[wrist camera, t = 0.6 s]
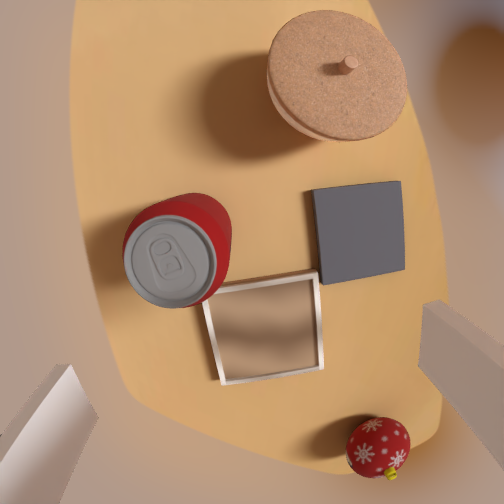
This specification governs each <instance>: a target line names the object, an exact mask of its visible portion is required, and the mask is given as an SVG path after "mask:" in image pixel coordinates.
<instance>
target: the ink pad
mask: <svg viewBox="0 0 504 504" xmlns="http://www.w3.org/2000/svg"><path fill="white" fill-rule="evenodd" d="M311 193H312V202H313V210H314V219H315V228H316V237H317V248H318V258H319V269H320V281H321V283H322V285H328V284H334V283H339V282H345V281H350V280H355V279H360V278H366V277H371V276H376V275H381V274H386V273H391V272H396V271H401V270H405V245H404V219H403V203H402V190H401V181H389V182H378V183H367V184H358V185H348V186H339V187H330V188H322V189H313V190H311Z"/></svg>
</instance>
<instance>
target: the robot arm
mask: <svg viewBox="0 0 504 504" xmlns="http://www.w3.org/2000/svg"><path fill="white" fill-rule="evenodd" d="M418 367H419V368H420V369H421V370H422V371H423V372H424V374H425V375H426V376H427V377H428V378H429V379H430V380H431V382H432V383H433V384H434V385H435V386H436V387H437V389H438V390H439V391H440V392H441V393H442V394H443V396H444V397H445V398H446V399H447V400H448V402H449V403H450V404H451V405H452V406H453V407H454V409H455V410H456V411H457V412H458V414H459V415H460V416H461V417H462V418H463V420H464V421H465V422H466V423H467V424H468V426H469V427H470V428H471V429H472V431H473V432H474V433H475V434H476V436H477V437H478V438H479V439H480V441H481V442H482V443H483V445H484V446H485V447H486V448H487V449H488V451H489V452H490V453H491V455H492V456H493V457H494V458H495V460H496V461H497V462H498V464H499V465H500V466H501V468H502V469H503V470H504V346H503V345H502V344H501V343H500V342H498V341H497V340H495V339H494V338H493V337H491V336H490V335H489V334H487V333H486V332H485V331H483V330H482V329H481V328H479V327H478V326H476V325H475V324H474V323H472V322H471V321H469V320H468V319H467V318H465V317H464V316H462V315H461V314H460V313H458V312H457V311H455V310H454V309H452V308H451V307H449V306H448V305H447V304H445V303H444V302H442V301H441V300H436V301H433V302H430V303H427V304H423V315H422V330H421V342H420V353H419V362H418ZM97 420H98V416H97V414H96V412H95V411H94V409H93V407H92V405H91V403H90V401H89V400H88V398H87V396H86V394H85V392H84V390H83V388H82V386H81V384H80V382H79V380H78V378H77V376H76V374H75V372H74V370H73V368H72V366H71V364H61V365H56V366H55V367H54V368H53V369H52V371H51V372H50V373H49V374H48V375H47V377H46V378H45V379H44V380H43V381H42V383H41V384H40V385H39V386H38V388H37V389H36V390H35V391H34V393H33V394H32V395H31V397H30V398H29V399H28V401H27V402H26V403H25V404H24V406H23V407H22V408H21V410H20V411H19V412H18V413H17V415H16V416H15V417H14V419H13V420H12V421H11V423H10V424H9V425H8V427H7V428H6V430H5V431H4V432H3V433H2V434H1V435H0V504H59V503H60V500H61V498H62V496H63V493H64V491H65V489H66V486H67V484H68V482H69V480H70V477H71V475H72V473H73V471H74V468H75V466H76V464H77V462H78V460H79V457H80V455H81V453H82V451H83V449H84V447H85V444H86V443H87V440H88V438H89V436H90V434H91V432H92V430H93V428H94V426H95V424H96V422H97Z"/></svg>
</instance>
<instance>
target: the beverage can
mask: <svg viewBox="0 0 504 504" xmlns="http://www.w3.org/2000/svg"><path fill="white" fill-rule="evenodd" d="M231 238H232V227H231V221H230V218H229V215H228V213H227V211H226V210H225V208H224V207H223V206H222V205H221V204H220V203H219V202H218V201H217V200H215V199H214V198H212V197H210V196H208V195H205V194H200V193H188V194H184V195H180V196H176V197H173V198H170V199H167V200H164V201H162V202H159V203H157V204H154V205H152V206H150V207H148V208H146V209H145V210H143V211H142V212H141V213H140V214H138V215H137V216H136V218H135V219H134V220H133V221H132V223H131V224H130V226H129V228H128V230H127V232H126V234H125V238H124V242H123V263H124V267H125V272H126V275H127V278H128V280H129V282H130V284H131V285H132V287H133V288H134V290H135V291H136V292H137V293H138V294H139V295H140V296H141V297H142V298H144V299H145V300H147V301H148V302H150V303H152V304H154V305H156V306H160V307H164V308H186V307H191V306H194V305H197V304H199V303H202V302H204V301H205V300H207V299H208V298H210V297H211V296H212V295H213V294H214V293H215V292H216V291H217V290H218V289H219V287H220V286H221V285H222V283H223V281H224V279H225V277H226V274H227V271H228V267H229V260H230V251H231Z"/></svg>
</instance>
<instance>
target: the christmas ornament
mask: <svg viewBox="0 0 504 504" xmlns="http://www.w3.org/2000/svg"><path fill="white" fill-rule="evenodd" d="M409 451H410V437H409V434H408V432H407V430H406V429H405V427H404V426H403V425H402V424H401V423H399V422H398V421H396V420H394V419H391V418H385V417H380V418H374V419H370V420H368V421H366V422H364V423H362V424H361V425H359V426H358V427H357V428H356V429H355V430H354V431H353V433H352V434H351V436H350V437H349V439H348V442H347V446H346V458H347V461H348V464H349V465H350V467H351V468H352V469H353V470H354V471H355V472H356V473H357V474H359V475H361V476H364V477H368V478H380V477H384V476H386V477H387V479H388V480H392V479H394V478H396V476H397V474H396V470H397V469H399V468H400V467H401V466H402V464H403V463H404V462H405V460H406V458H407V456H408V454H409ZM394 475H395V476H394ZM392 476H394V477H392ZM390 477H391V478H390Z"/></svg>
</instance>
